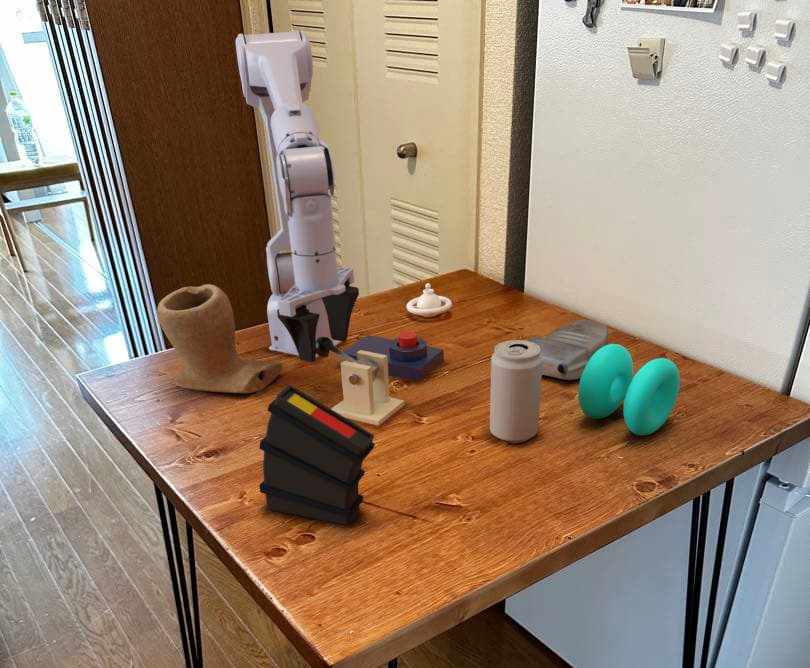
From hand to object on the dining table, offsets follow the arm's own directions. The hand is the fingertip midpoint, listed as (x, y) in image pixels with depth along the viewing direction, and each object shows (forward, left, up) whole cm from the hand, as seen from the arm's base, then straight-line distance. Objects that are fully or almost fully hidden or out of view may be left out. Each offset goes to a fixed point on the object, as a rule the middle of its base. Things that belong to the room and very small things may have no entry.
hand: (324, 349), depth 111 cm
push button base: (+2, +15, -8) cm, 17 cm away
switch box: (+7, 0, -8) cm, 10 cm away
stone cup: (-17, -3, -8) cm, 20 cm away
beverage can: (+28, +3, -8) cm, 29 cm away
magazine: (+16, -24, -8) cm, 30 cm away
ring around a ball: (-3, +36, -8) cm, 37 cm away
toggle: (+3, 0, -2) cm, 4 cm away
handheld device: (+26, +29, -8) cm, 39 cm away
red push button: (+5, +15, -4) cm, 16 cm away
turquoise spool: (+40, +12, -8) cm, 42 cm away
